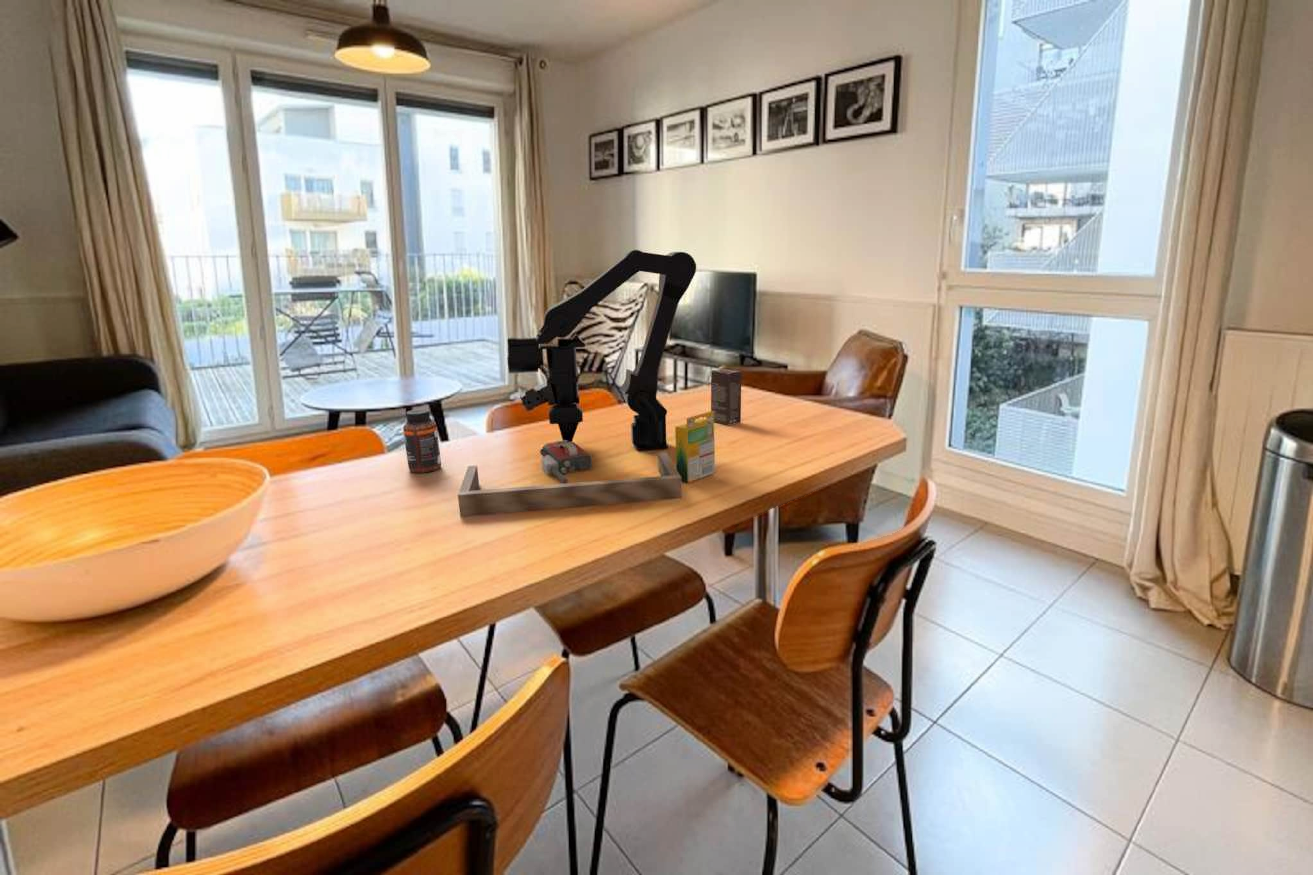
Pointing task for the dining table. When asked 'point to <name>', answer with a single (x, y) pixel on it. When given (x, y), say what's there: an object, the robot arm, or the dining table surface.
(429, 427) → the supplement bottle
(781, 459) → the dining table surface
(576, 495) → the brown shallow tray
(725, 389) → the box
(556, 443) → the walkie-talkie
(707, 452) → the crayon box
